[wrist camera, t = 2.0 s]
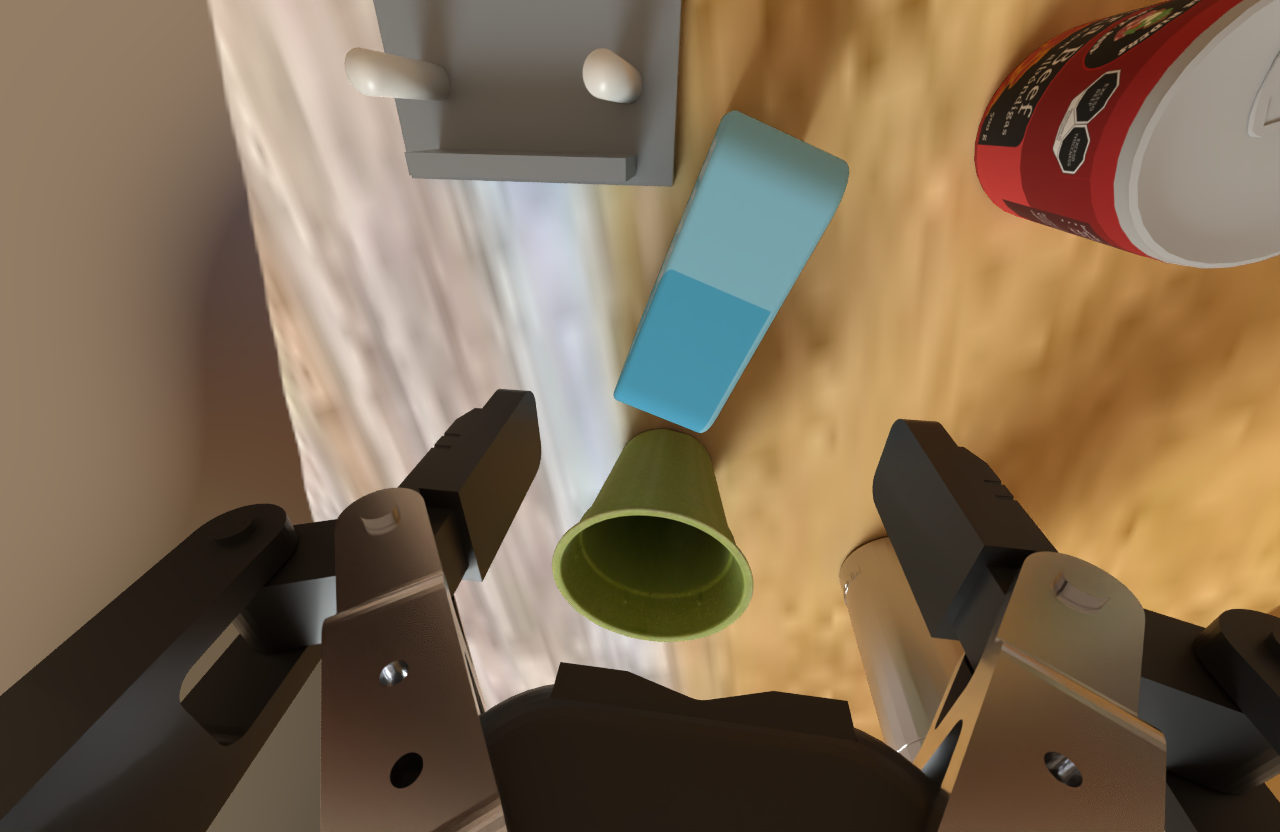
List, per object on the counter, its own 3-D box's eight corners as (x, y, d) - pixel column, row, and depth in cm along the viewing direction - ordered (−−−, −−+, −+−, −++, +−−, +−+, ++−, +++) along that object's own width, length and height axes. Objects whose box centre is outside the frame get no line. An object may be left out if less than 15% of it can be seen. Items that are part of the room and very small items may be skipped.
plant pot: (567, 475, 39) (520, 589, 29) (644, 371, 33) (616, 472, 23) (683, 541, 41) (675, 666, 32) (775, 455, 35) (799, 579, 26)
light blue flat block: (723, 112, 24) (731, 105, 14) (802, 149, 25) (863, 167, 15) (641, 316, 31) (606, 411, 21) (704, 342, 31) (700, 448, 21)
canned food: (1133, -25, 20) (1501, -155, 11) (1172, 147, 23) (1490, 165, 13) (942, 108, 23) (1097, 99, 14) (997, 245, 26) (1157, 314, 16)
